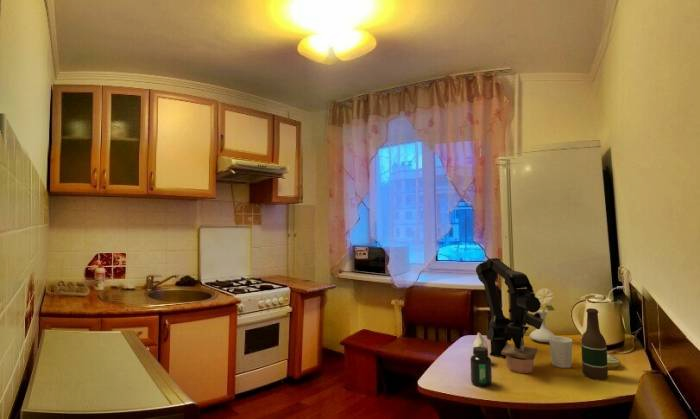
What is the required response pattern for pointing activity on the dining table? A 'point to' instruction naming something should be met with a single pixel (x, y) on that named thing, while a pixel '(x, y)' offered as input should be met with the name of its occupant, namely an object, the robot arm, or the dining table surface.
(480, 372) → the supplement bottle
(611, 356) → the decorated donut
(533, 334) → the flower in vase
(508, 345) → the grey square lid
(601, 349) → the beer bottle
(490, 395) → the dining table surface
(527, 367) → the terracotta bowl
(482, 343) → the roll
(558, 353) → the white cup
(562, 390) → the dining table surface
